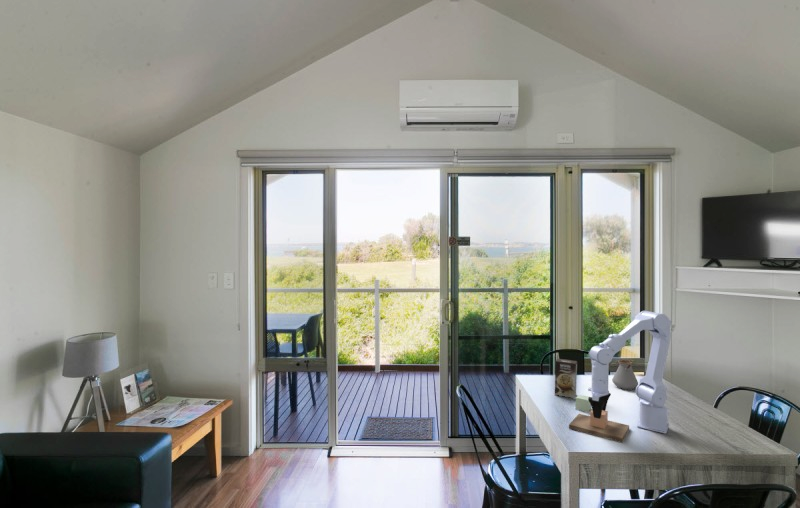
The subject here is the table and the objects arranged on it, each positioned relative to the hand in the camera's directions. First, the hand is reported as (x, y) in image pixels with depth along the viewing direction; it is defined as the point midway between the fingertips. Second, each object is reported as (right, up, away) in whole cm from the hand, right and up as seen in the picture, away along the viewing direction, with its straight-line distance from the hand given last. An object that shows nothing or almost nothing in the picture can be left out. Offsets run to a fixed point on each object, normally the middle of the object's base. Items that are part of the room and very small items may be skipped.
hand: (599, 414), depth 156 cm
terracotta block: (0, -4, 0) cm, 4 cm away
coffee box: (+2, -6, +37) cm, 38 cm away
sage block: (+3, -6, +20) cm, 21 cm away
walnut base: (0, -5, 0) cm, 5 cm away
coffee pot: (+35, -6, +46) cm, 58 cm away
